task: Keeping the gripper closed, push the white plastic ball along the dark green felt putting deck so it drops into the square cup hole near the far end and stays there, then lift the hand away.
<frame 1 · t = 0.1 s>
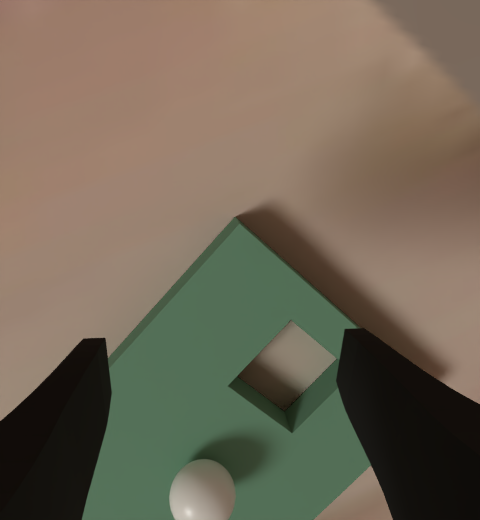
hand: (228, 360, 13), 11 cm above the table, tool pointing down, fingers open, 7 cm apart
putting deck: (227, 418, 25), on the table
ball: (202, 495, 22), point 4 cm above the table, touching putting deck
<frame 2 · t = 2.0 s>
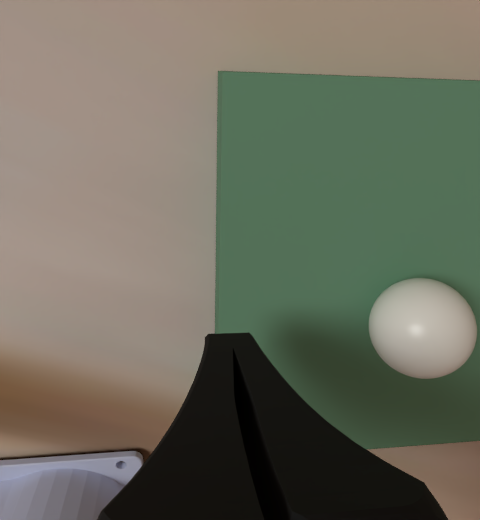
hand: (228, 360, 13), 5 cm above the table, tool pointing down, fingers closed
putting deck: (430, 277, 18), on the table
ball: (420, 327, 15), point 4 cm above the table, touching putting deck
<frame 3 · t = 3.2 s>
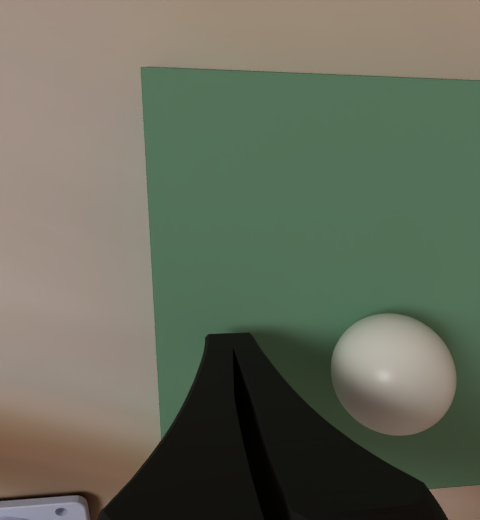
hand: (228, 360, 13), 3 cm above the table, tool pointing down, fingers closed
putting deck: (409, 304, 16), on the table
ball: (390, 372, 12), point 4 cm above the table, touching putting deck
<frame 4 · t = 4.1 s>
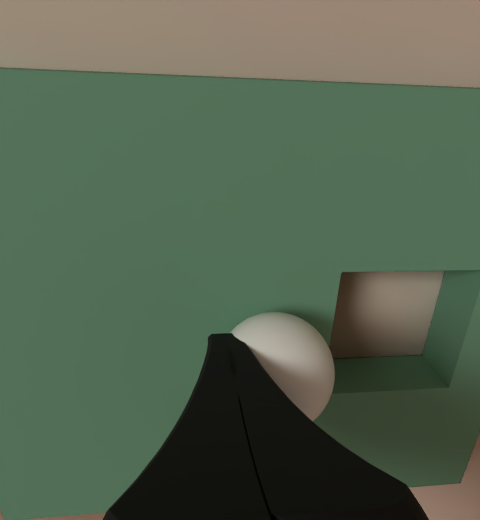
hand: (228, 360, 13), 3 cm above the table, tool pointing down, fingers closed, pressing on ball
putting deck: (250, 309, 16), on the table
ball: (274, 370, 13), point 4 cm above the table, tilted 90°, touching gripper, putting deck
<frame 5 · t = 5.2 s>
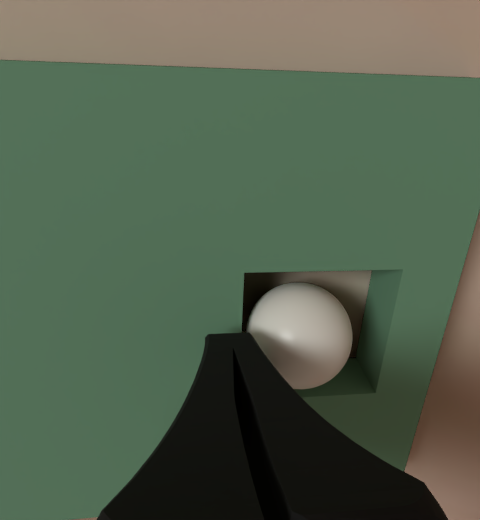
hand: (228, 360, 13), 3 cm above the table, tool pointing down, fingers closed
putting deck: (165, 311, 15), on the table
ball: (298, 334, 14), point 2 cm above the table, tilted 126°
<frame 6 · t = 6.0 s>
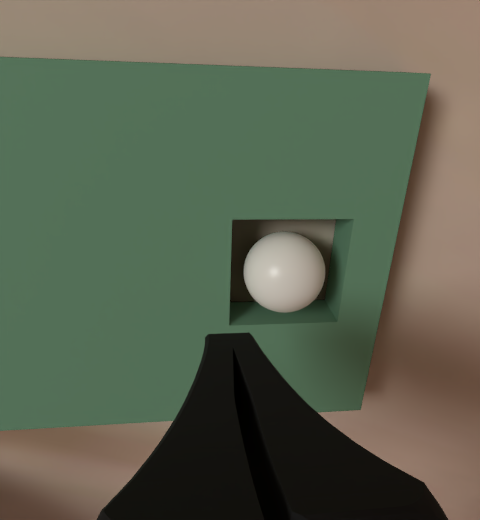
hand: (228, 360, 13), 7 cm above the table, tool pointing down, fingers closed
putting deck: (172, 256, 19), on the table
ball: (284, 271, 18), point 2 cm above the table, tilted 113°
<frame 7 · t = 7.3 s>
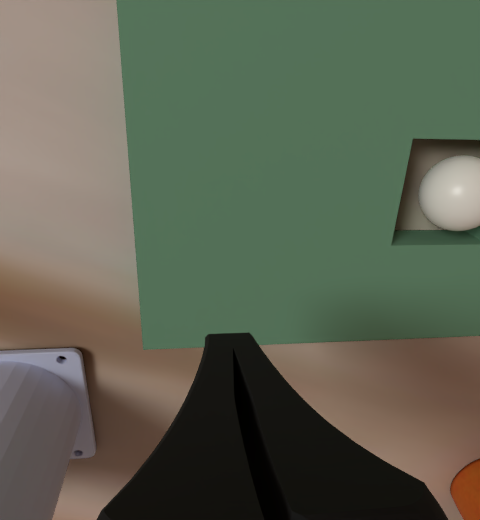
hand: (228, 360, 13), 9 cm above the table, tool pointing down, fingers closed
putting deck: (334, 183, 21), on the table
ball: (459, 193, 20), point 2 cm above the table, tilted 92°
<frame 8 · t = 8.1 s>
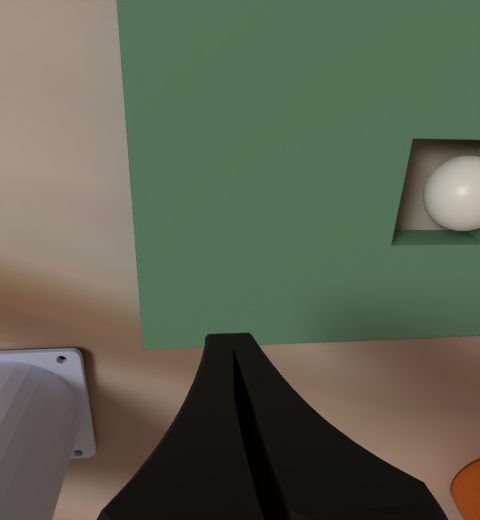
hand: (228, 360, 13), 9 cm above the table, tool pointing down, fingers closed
putting deck: (334, 183, 21), on the table
ball: (463, 193, 20), point 2 cm above the table, tilted 84°
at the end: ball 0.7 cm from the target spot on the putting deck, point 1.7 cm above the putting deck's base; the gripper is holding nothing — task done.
